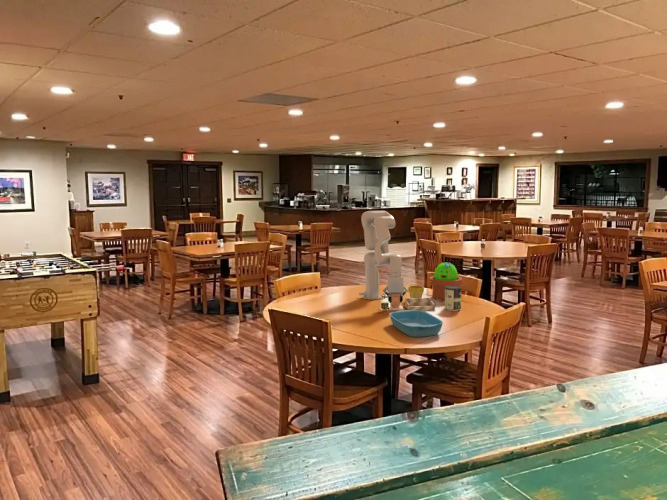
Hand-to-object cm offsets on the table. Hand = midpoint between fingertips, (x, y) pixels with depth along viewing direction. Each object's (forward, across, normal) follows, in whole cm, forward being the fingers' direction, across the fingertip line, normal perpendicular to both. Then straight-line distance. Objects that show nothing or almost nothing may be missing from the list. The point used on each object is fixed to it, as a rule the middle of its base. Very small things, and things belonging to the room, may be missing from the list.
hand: (395, 302), depth 333 cm
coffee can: (+4, +36, -4) cm, 36 cm away
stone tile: (+4, 0, 0) cm, 4 cm away
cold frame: (+4, +16, 0) cm, 16 cm away
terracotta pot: (+2, 0, 0) cm, 2 cm away
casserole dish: (+5, +4, -47) cm, 48 cm away
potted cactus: (+4, +39, +28) cm, 48 cm away
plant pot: (+4, +16, +19) cm, 25 cm away
